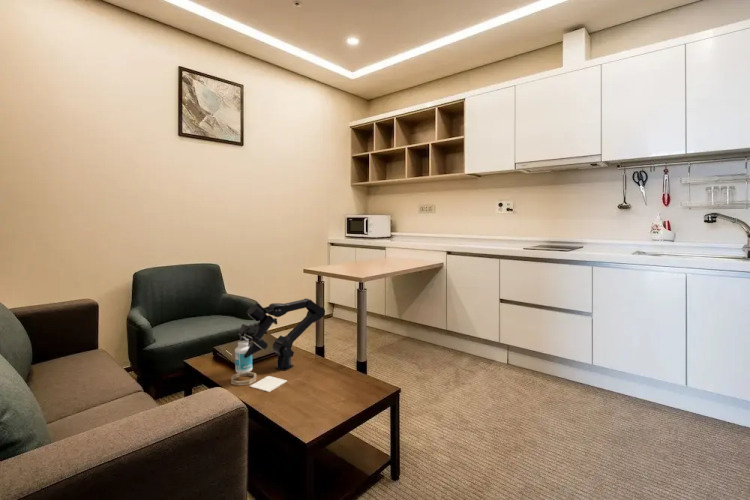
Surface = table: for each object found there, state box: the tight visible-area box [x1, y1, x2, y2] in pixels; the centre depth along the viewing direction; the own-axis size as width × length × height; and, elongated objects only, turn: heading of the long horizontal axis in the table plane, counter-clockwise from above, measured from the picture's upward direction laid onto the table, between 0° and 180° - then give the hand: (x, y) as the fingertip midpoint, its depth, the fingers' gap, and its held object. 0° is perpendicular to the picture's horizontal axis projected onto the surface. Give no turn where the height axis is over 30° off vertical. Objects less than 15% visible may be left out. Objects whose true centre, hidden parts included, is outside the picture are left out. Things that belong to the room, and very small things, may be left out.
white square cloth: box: [249, 375, 288, 393], centre depth 167 cm, size 12×11×1 cm
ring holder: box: [230, 371, 258, 387], centre depth 171 cm, size 11×11×2 cm
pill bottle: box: [234, 340, 253, 374], centre depth 170 cm, size 8×7×14 cm
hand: (240, 355), depth 169 cm, fingers closed on pill bottle, 7 cm apart
